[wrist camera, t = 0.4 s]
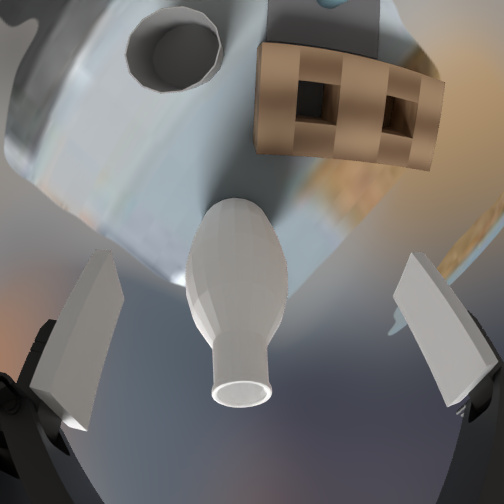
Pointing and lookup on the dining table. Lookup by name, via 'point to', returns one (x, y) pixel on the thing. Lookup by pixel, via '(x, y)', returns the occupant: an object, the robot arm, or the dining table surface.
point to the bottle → (237, 297)
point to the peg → (330, 3)
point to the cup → (174, 50)
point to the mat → (326, 25)
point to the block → (345, 108)
